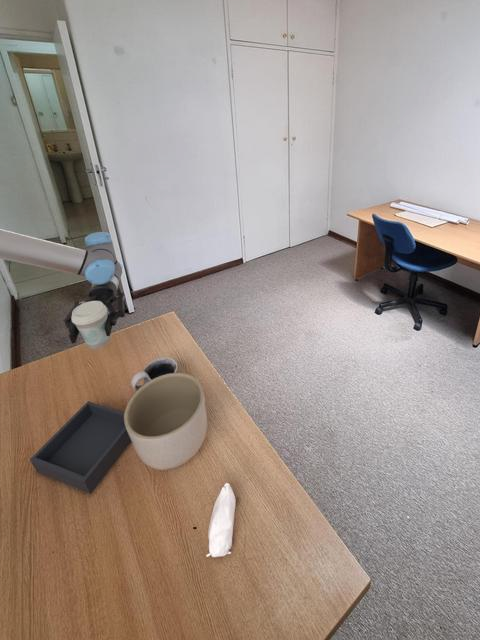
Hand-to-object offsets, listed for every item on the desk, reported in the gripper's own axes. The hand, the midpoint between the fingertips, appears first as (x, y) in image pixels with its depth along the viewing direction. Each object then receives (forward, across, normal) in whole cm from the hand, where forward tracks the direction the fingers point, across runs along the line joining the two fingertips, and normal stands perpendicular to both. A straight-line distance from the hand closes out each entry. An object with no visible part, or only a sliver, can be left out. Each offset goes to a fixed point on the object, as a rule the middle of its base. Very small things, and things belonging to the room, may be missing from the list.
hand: (89, 335), depth 87 cm
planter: (+24, -18, -20) cm, 36 cm away
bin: (+19, +1, -20) cm, 27 cm away
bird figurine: (+46, -27, -20) cm, 57 cm away
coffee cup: (-5, 0, -7) cm, 8 cm away
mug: (+6, -14, -20) cm, 25 cm away
